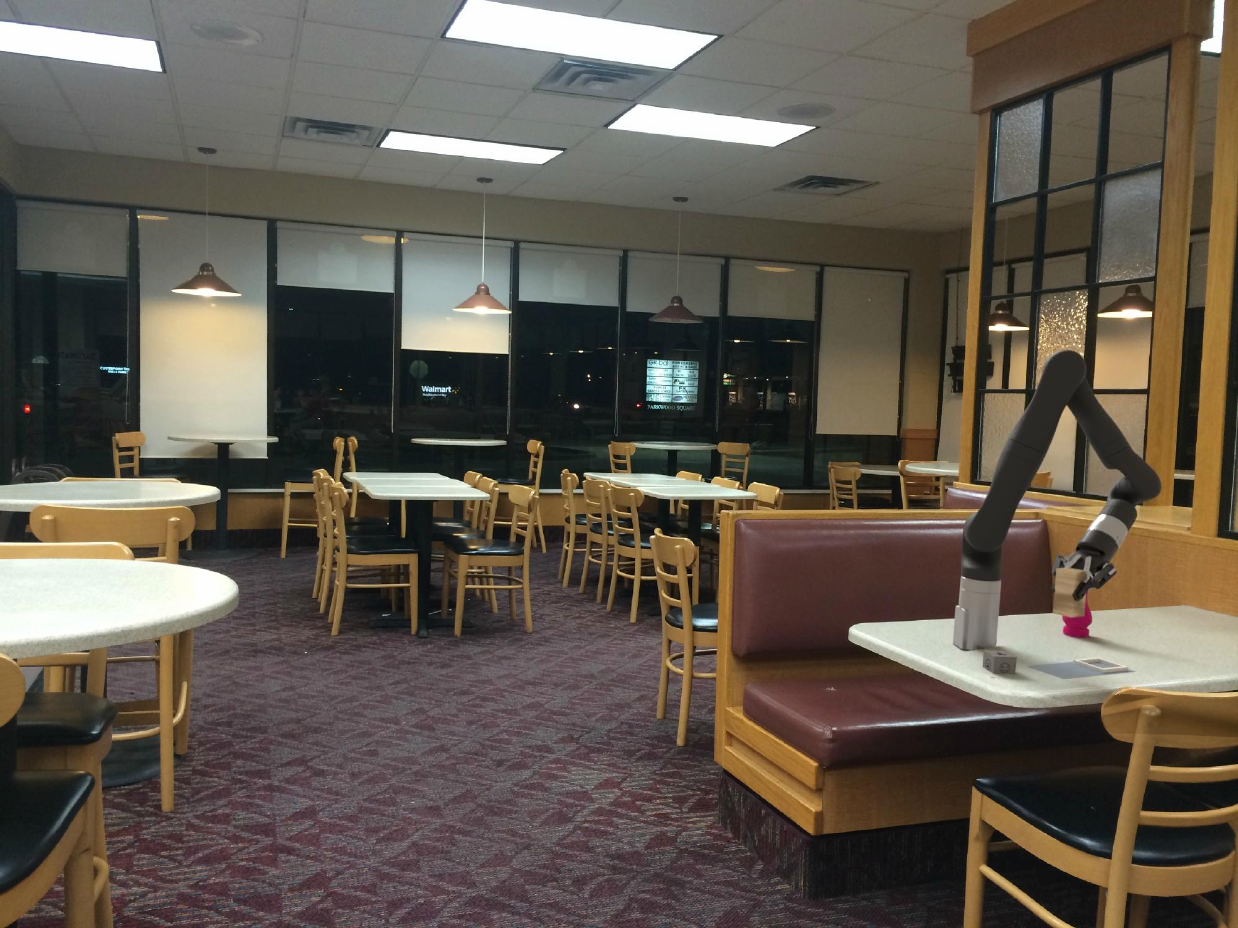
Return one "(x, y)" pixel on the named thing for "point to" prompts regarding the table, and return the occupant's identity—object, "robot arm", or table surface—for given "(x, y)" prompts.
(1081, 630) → the pepper mill
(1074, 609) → the wooden pillar
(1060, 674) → the building board
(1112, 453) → the robot arm
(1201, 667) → the table surface
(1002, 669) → the dice cube
